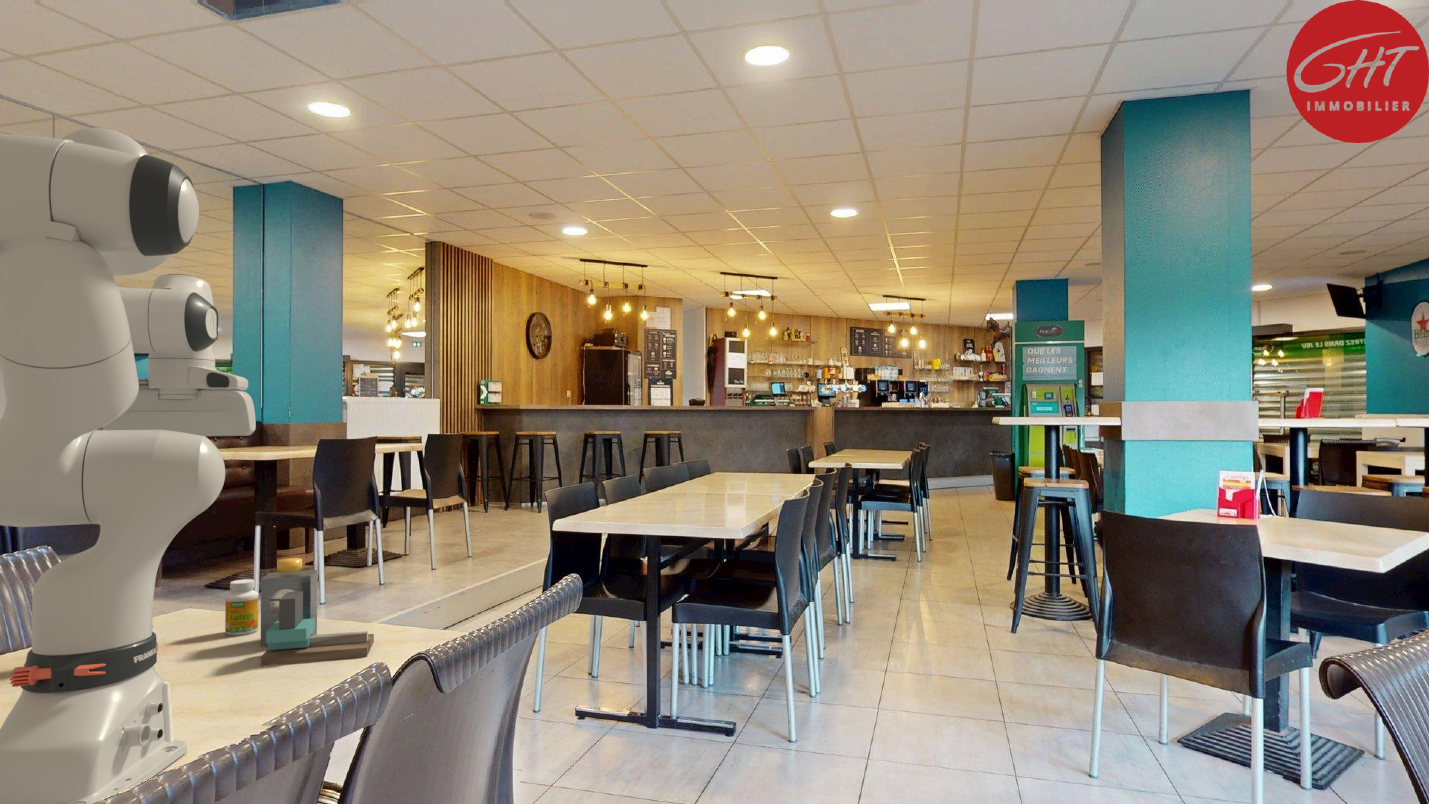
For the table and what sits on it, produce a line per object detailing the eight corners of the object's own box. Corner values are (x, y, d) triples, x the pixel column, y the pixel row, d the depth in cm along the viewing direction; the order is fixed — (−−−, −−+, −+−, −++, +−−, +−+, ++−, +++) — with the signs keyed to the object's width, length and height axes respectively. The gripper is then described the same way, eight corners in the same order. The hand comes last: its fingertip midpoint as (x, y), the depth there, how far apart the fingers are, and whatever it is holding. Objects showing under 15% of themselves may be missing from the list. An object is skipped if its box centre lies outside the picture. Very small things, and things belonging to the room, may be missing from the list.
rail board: (366, 656, 132) (367, 638, 132) (260, 665, 127) (260, 647, 127) (373, 642, 141) (373, 625, 141) (274, 650, 136) (274, 633, 136)
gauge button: (299, 572, 141) (299, 561, 142) (274, 573, 140) (275, 562, 140) (304, 568, 145) (304, 557, 145) (280, 569, 144) (280, 558, 144)
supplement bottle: (226, 638, 144) (226, 585, 145) (224, 631, 149) (224, 580, 149) (259, 633, 148) (260, 581, 148) (256, 627, 152) (256, 577, 152)
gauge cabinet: (309, 643, 140) (309, 576, 141) (259, 647, 138) (260, 579, 138) (316, 633, 147) (317, 569, 147) (269, 637, 144) (269, 572, 144)
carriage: (306, 649, 130) (306, 598, 130) (266, 652, 129) (266, 601, 129) (314, 638, 137) (314, 589, 137) (276, 641, 135) (276, 592, 135)
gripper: (95, 377, 118) (94, 468, 118) (248, 378, 124) (247, 465, 124) (113, 379, 124) (113, 466, 124) (258, 380, 130) (258, 463, 130)
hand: (181, 465), depth 124 cm, fingers closed
